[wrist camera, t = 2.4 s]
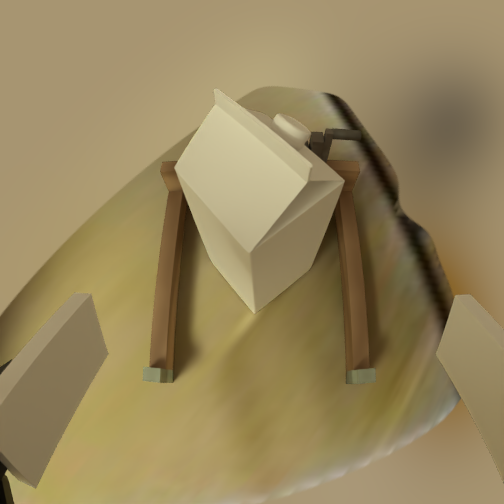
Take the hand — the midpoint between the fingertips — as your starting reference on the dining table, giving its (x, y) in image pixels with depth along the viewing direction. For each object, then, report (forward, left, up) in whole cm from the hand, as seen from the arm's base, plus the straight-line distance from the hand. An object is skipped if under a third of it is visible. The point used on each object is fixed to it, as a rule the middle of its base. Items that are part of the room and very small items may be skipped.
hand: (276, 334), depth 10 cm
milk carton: (-1, +9, -19) cm, 21 cm away
